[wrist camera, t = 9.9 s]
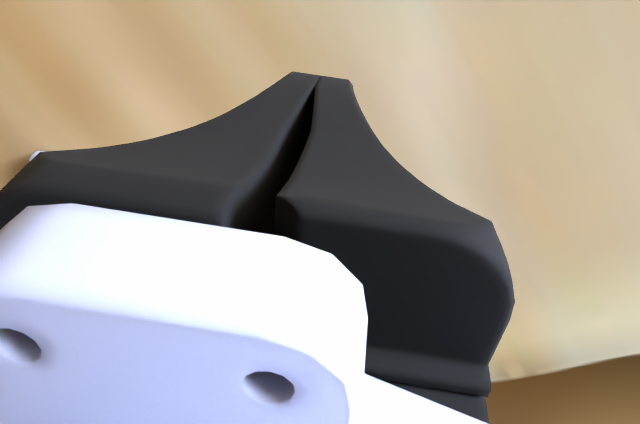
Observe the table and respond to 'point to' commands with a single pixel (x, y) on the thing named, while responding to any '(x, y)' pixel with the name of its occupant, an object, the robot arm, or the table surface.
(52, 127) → the table surface
